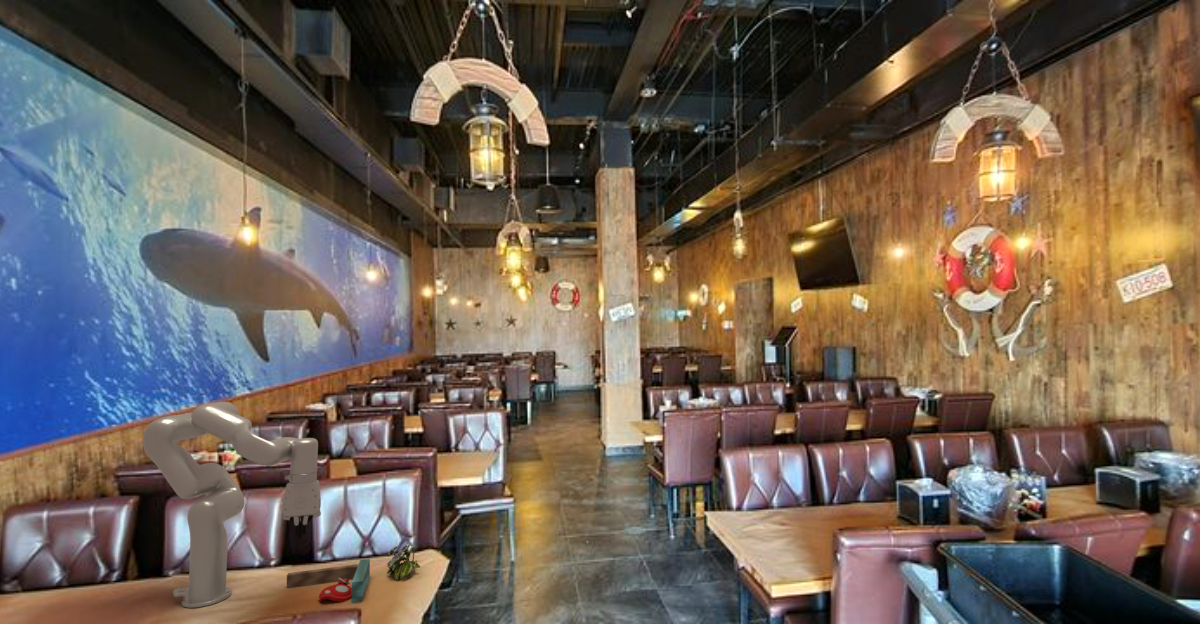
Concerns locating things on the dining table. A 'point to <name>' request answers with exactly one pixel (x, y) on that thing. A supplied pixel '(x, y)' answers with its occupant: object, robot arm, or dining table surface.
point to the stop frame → (335, 577)
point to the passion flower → (405, 566)
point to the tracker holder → (337, 591)
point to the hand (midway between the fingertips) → (301, 536)
